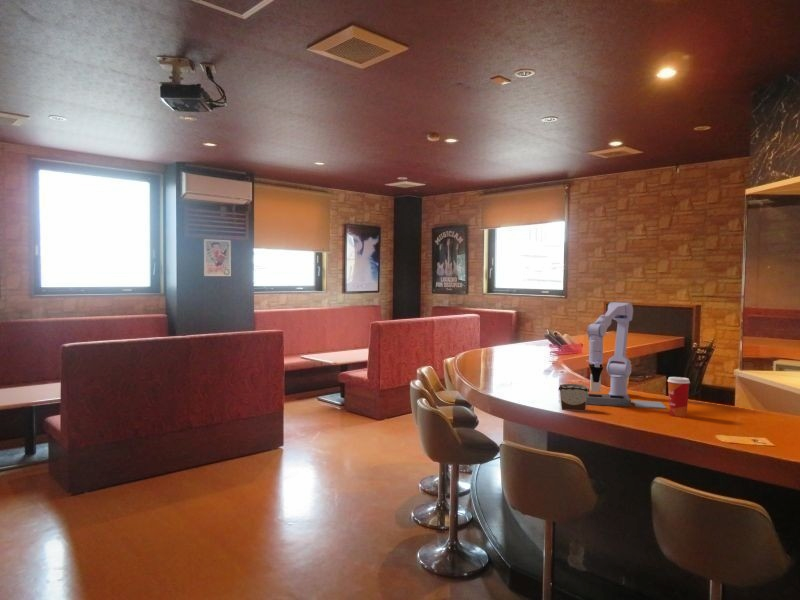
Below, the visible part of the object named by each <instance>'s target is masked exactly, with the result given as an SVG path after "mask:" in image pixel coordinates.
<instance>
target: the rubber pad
mask: <svg viewBox="0 0 800 600" xmlns="http://www.w3.org/2000/svg"><path fill="white" fill-rule="evenodd" d="M631 404H633V405H634V407H635V408H643V409H656V410H657V409H658V410H659V409H660V410H667V409H668V408H667V407H666V406H665V405H664V403H662V402H661V401H654V400H653V401H650V400H649V401H648V400H634V399H632V400H631Z"/></svg>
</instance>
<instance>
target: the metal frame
mask: <svg viewBox="0 0 800 600" xmlns="http://www.w3.org/2000/svg"><path fill="white" fill-rule="evenodd" d="M628 396H629V395H628V394H627V395H610V394H609V393H608V394H607V393H592V392H591V393H590V392H588V395H587V402H586V405H593V406H610V407H627V408H631V407H632V400H631V398H630V396H629V397H628Z"/></svg>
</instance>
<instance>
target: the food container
mask: <svg viewBox="0 0 800 600" xmlns="http://www.w3.org/2000/svg"><path fill="white" fill-rule="evenodd" d="M558 391H559V397H560V404H561V411H575V412H577V411H579V412H586V408H587V404H586V402H587V395H588V393H590V387H589V386H587V385H583V384H576V383H566V384H565V383H562V384H560V385H559V386H558Z"/></svg>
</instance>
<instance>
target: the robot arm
mask: <svg viewBox="0 0 800 600" xmlns="http://www.w3.org/2000/svg"><path fill="white" fill-rule="evenodd" d="M633 317H634V306H633V304H632V302H618V301H617V302H616V301H615V302H613V301H610V302H609V303H608V305H607V311H606V312H605V314H601V315H599V316H598V318H597V319H596V320H595V321H594V322H593V323H590V324H588V326H587V327H586V328H587V329H586V333H587V338H588V342H589V343H588V344H589V348H588V350H589V351H588V359H586V363H589V364H588V367H589V369H590V375H591V374H592V376H593V382H599V379H600V375H601V374H602V371H603V370H604V367H603V363H604V337H605V336H606V334H607V330H608V328H609V327H610V326H611V325H612V320H614V321H616V323H617V327H616V335H615V343H614V355H612V356H611V357H610V358H608V362H607V364H606V373H607V374H608V376H609V377H610V391H608V394H610V395H628V393H627V392H628V378H629V377H630V376H631V374H632V361H631V360H630V359H629V357H627V356H626V354H627V347H628V346H627V343H628V335H629V334H628V333H629V325H630V322H631V321H633ZM628 397H629V398H630V396H629V395H628Z"/></svg>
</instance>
